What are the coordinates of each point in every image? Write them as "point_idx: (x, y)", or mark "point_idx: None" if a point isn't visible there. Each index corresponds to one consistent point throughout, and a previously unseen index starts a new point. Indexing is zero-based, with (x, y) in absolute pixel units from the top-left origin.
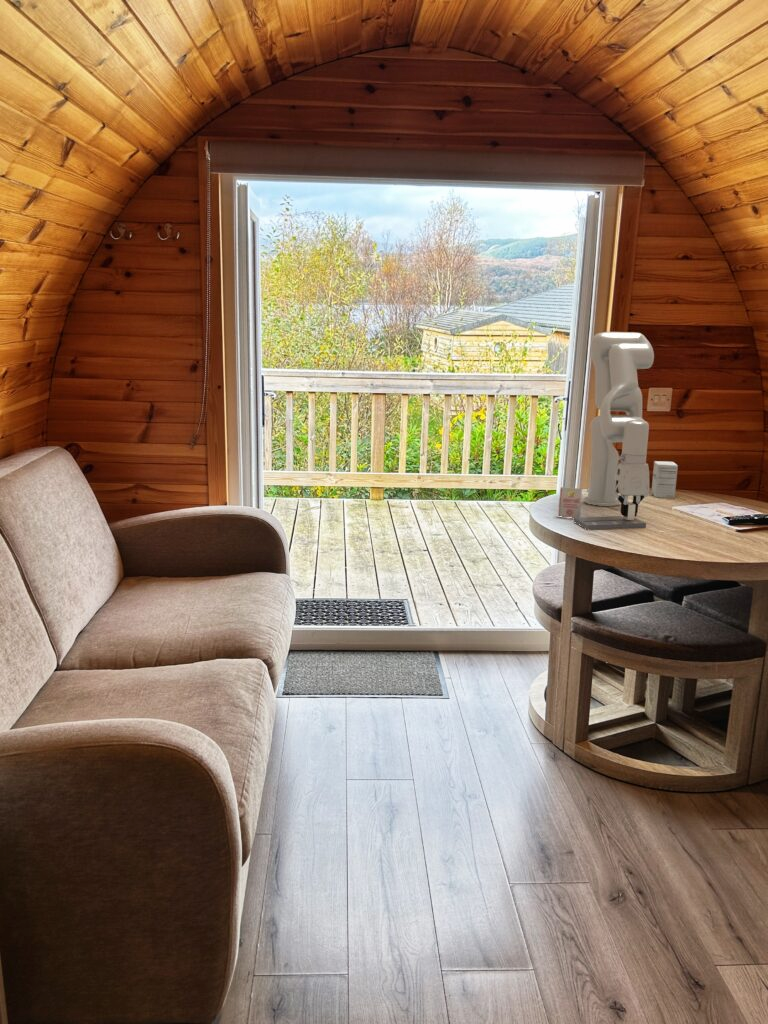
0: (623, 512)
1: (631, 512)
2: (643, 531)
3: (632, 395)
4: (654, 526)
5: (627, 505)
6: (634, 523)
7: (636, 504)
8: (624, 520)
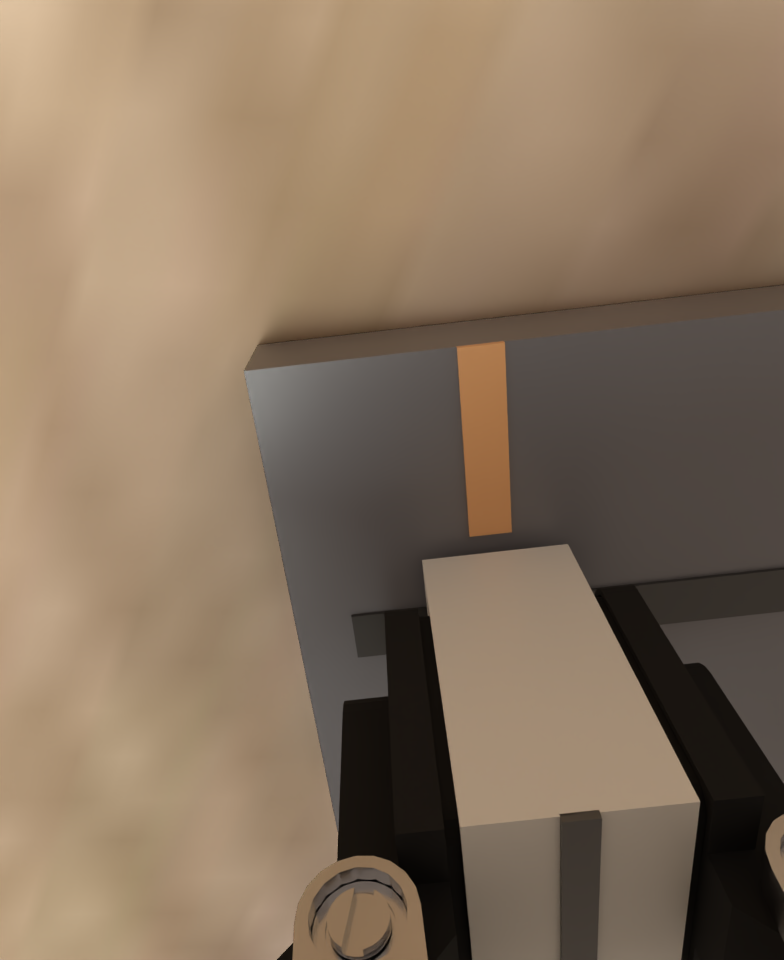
0: (695, 671)
1: (525, 650)
2: (422, 29)
3: None
4: (63, 426)
5: (733, 781)
6: (518, 341)
7: (425, 839)
8: (596, 569)
